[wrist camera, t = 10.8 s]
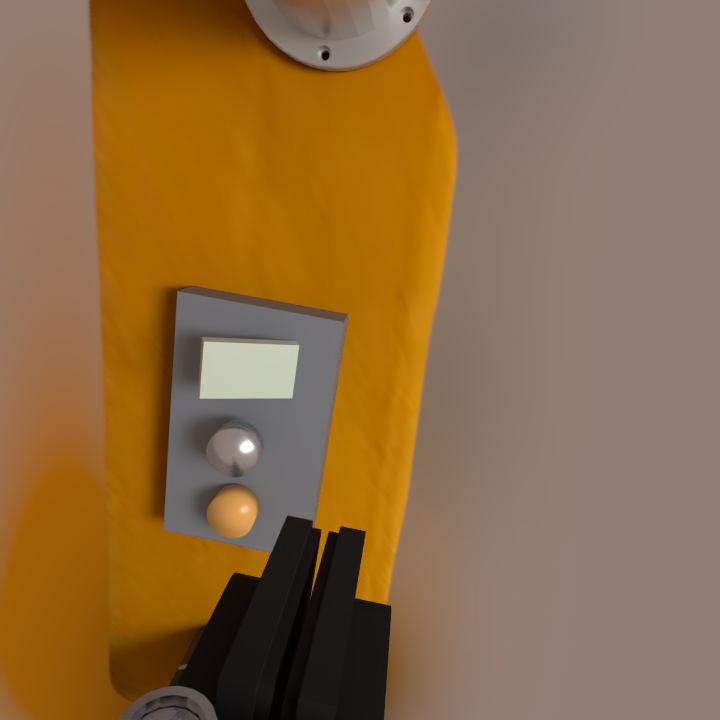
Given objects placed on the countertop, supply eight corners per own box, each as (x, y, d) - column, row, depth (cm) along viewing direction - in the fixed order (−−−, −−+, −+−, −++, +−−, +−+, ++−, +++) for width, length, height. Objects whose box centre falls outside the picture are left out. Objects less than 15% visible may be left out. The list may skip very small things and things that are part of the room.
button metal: (217, 416, 38) (208, 426, 37) (266, 425, 38) (259, 436, 36) (214, 460, 39) (204, 471, 38) (261, 469, 39) (253, 482, 37)
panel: (191, 285, 40) (171, 293, 36) (348, 314, 39) (341, 325, 36) (176, 512, 46) (157, 537, 43) (312, 541, 45) (303, 568, 42)
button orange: (217, 480, 41) (208, 492, 40) (262, 489, 41) (255, 502, 39) (213, 519, 42) (204, 533, 41) (257, 528, 42) (250, 542, 40)
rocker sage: (202, 336, 35) (203, 341, 34) (295, 340, 38) (299, 345, 37) (197, 392, 36) (199, 398, 35) (288, 392, 39) (292, 398, 38)
